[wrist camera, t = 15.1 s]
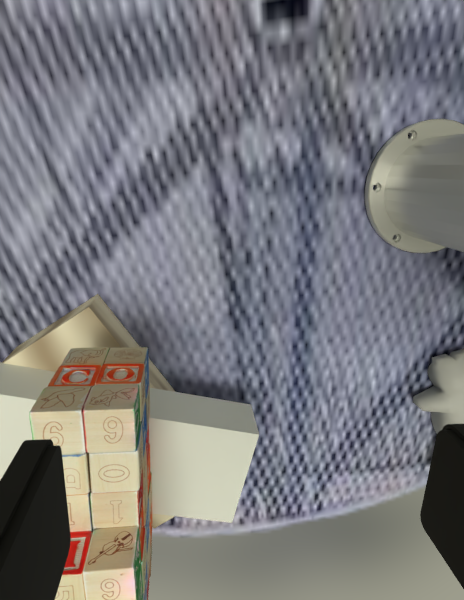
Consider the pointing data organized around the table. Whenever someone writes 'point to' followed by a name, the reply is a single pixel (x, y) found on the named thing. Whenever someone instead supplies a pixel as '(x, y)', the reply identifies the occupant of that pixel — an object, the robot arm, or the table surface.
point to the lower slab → (82, 346)
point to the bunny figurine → (444, 390)
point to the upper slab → (159, 444)
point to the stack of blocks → (102, 469)
